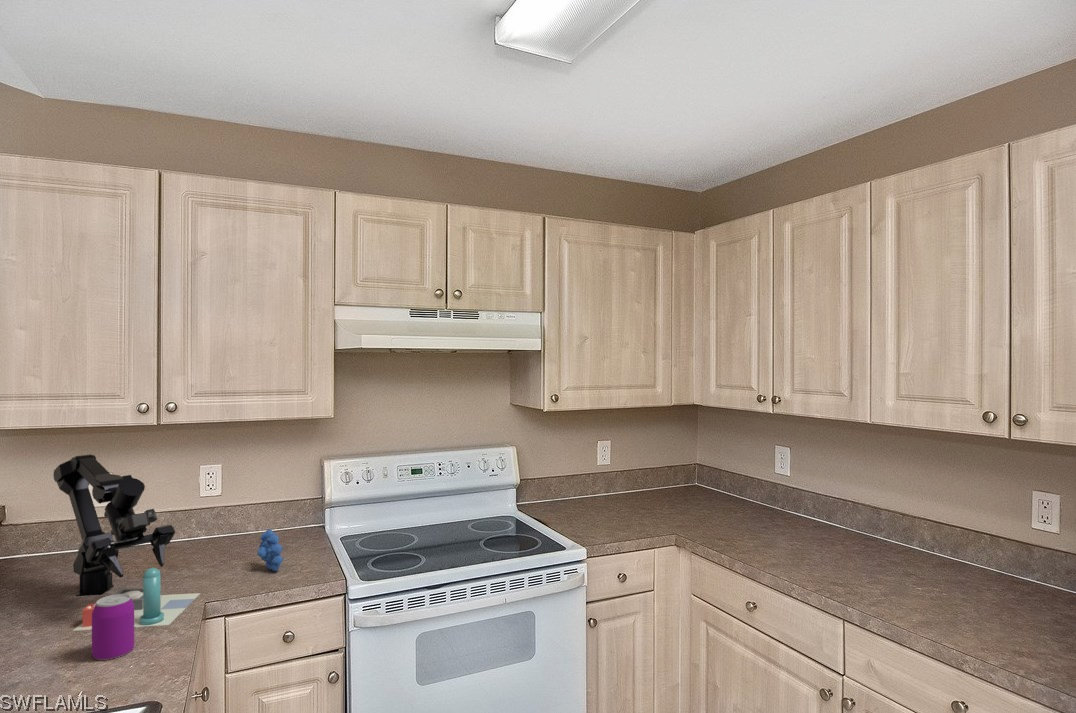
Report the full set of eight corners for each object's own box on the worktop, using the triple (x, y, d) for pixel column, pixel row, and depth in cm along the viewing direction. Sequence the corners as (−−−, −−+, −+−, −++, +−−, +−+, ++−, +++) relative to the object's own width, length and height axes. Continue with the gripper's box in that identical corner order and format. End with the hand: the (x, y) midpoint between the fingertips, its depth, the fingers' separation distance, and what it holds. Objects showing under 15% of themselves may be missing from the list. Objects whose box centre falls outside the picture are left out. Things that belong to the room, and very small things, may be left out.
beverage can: (142, 645, 141) (141, 592, 140) (120, 662, 133) (120, 606, 133) (106, 646, 140) (106, 592, 140) (83, 663, 133) (83, 606, 133)
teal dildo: (135, 625, 150) (135, 572, 150) (145, 617, 155) (145, 565, 155) (158, 624, 150) (158, 571, 150) (167, 615, 155) (167, 564, 155)
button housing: (103, 611, 158) (103, 601, 158) (121, 598, 167) (121, 588, 167) (141, 609, 159) (141, 599, 159) (157, 596, 168) (157, 586, 168)
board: (72, 632, 147) (72, 630, 147) (115, 599, 167) (115, 597, 167) (168, 626, 150) (168, 624, 150) (200, 594, 170) (200, 593, 170)
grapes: (248, 568, 190) (248, 529, 190) (270, 563, 195) (270, 524, 195) (265, 578, 183) (265, 537, 182) (288, 572, 188) (288, 532, 188)
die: (82, 627, 149) (82, 608, 149) (88, 620, 153) (88, 602, 153) (102, 624, 150) (102, 606, 150) (107, 618, 154) (107, 600, 154)
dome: (113, 606, 160) (113, 598, 160) (124, 597, 165) (124, 590, 165) (137, 604, 161) (137, 597, 161) (147, 596, 166) (147, 588, 166)
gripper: (89, 508, 151) (109, 562, 144) (171, 493, 166) (192, 542, 160) (77, 535, 155) (95, 589, 149) (158, 519, 170) (178, 567, 164)
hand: (142, 571), depth 155 cm, fingers open, 9 cm apart
